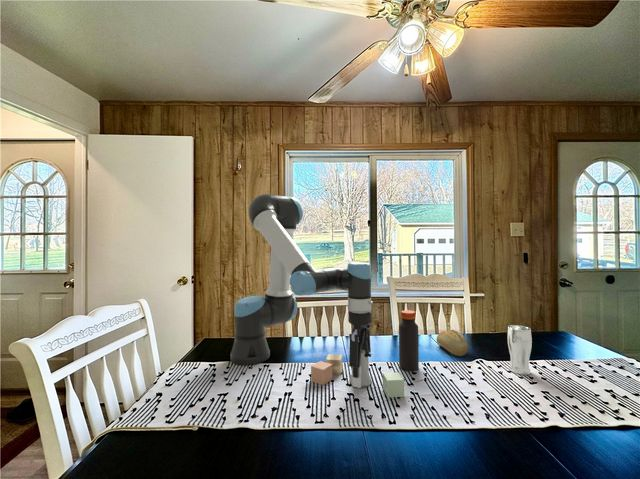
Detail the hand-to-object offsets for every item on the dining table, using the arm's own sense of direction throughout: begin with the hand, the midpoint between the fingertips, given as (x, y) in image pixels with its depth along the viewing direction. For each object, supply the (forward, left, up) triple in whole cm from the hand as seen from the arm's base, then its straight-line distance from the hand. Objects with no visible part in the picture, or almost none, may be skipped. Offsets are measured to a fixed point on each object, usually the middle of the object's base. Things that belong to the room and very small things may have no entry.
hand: (360, 381), depth 97 cm
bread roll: (+25, +42, -1) cm, 49 cm away
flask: (0, 0, 0) cm, 0 cm away
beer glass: (+47, +31, 0) cm, 56 cm away
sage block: (+11, -2, 0) cm, 11 cm away
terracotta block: (-12, -4, 0) cm, 13 cm away
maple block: (-11, +4, 0) cm, 12 cm away
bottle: (+12, +18, 0) cm, 22 cm away
